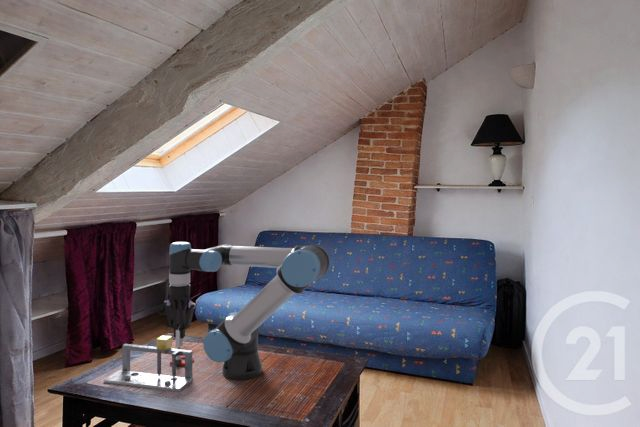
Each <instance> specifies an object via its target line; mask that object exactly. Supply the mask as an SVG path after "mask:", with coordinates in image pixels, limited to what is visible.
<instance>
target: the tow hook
mask: <svg viewBox="0 0 640 427" xmlns="http://www.w3.org/2000/svg"><path fill="white" fill-rule="evenodd" d="M176 349H181V347H180V348H177V347H176ZM182 360H185V356H180V355H178V356H177V357H176V367H185V361H182ZM194 361H195V360H194V357H192V363H193V362H194ZM169 365H170V366H172V360H171V361H170V362H169Z"/></svg>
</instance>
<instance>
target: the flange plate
mask: <svg viewBox="0 0 640 427" xmlns="http://www.w3.org/2000/svg"><path fill="white" fill-rule="evenodd" d="M192 379H193V377H192V378H185V376H184V377H183V376H182V377H181V376H177V375H176V376H175V378H173V377H172V375H166V374H160V376H158V374H157V373H148V372H140V371H132V370H130V371H124V370H122V369H119V370H117V371H115V372H114V373H112V374H110V375H109V376H108V377H106V378H104V379H103V383H107V384H113V385H114V384H115V385H121V386H131V387H139V388H147V389H153V390H161V391H171V392H176V393H177V392H178V393H180V392H182V390H184V389H185V388H186V387H187V386H188V385H189V384H190V383H191V382H192V381H193V380H192Z"/></svg>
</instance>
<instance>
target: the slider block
mask: <svg viewBox="0 0 640 427" xmlns="http://www.w3.org/2000/svg"><path fill="white" fill-rule="evenodd" d="M172 339H173V336H171V335H160V336H158V337H157V338H156V342H155V343H156V346H155V347H156V349H157V353H156V354H157V356H156V357H157V358H156V366H157V368H156V371H157V372H156V374H158V376H160V375H162V353H161V351H162V350H168V349H169V348H172V347H173V343H172V342H173V340H172Z"/></svg>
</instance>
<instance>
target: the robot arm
mask: <svg viewBox="0 0 640 427" xmlns="http://www.w3.org/2000/svg"><path fill="white" fill-rule="evenodd" d="M168 253H169V254H168V259H169V260H168V262H169V271H168V272H169V274H168V284H169V286H168V294H169V296H168V298H167V299H166V300H164V301H163V302H162V306H163V308H164V311H165V315H166V319H167V320H166V321H167V323H168V324H167V325H168V327H169V328H172V329H173V338H174V339H175V348H176V349H177V348H180V349H181V347H183V346H184V338H185V336H186V330H187V329H188V328H190V327H191V324H192V319H193V315H194V312H195V311H194V310H195V309H196V307H197V306H198V304H197V302H193V301H192V298H191V284H190V283H191V270H193V271H199V272H207V273H210V272H212V273H214V272H217V271H219V269H220V268H221V266H235V267H238V266H239V267H253V268H254V267H255V268H256V267H257V268H270V269H271V268H272V269H276V275H275V276H274V277H273V278H272V279H271V280H270V281H269V282H268V283H267V284H266V285H265V286H264V287H263V288H262V289H261V290H260V291H258V293H256V295H255V296H254V297H253V298H252V299H251V300H250V301H248V303H246V304H245V305H244V306H243V307H242V308H241V309H240V310H239V311H234V312H229V313H228V314H227V317H225V318H224V319H223V320H222V322H220V323H219V324H218V325H217V326H216V327H215V328H213V329H211V330H209V331H208V333H207V332H206V334H205V335H204V338H203V342H202V344H203V351H204V352H205V354H206V356H207V357H208V358H209V359H210V360H211V361H213V362H215V363H223V365H222V375H223V376H224V377H226V378H228V379H232V380H249V379H253V378H256V377H258V376H260V375H261V374H262V373H263V364H262V361H261V358H260V354H259V352H258V351H259V349H258V348H259V328H260V327H261V325H262V324H263V323H265V321H267V319H269V318H270V316H272V315H273V314H274V313H275V312H276V311H278V309H280V307H281V306H283V305H284V303H286V302H287V301H288V300H289V299H290V298H291V297H292V296H293V295H301V294H302V293H303V292H304V291H305V290H306V289H307V288H308V287H310V286H311V284H313V283H314V282H315V281H316V280H317V279H319V278H322V277H323V276H324V275H325V274H327V272H328V271H329V269H330V265H331V258H330V254H329V253H328V251H327V250H326V249H325V248H324V247H322V246H320V245H315V244H310V245H295V246H294V247H273V246H272V247H271V246H270V247H269V246H267V247H266V246H247V245H245V246H243V245H242V246H241V245H232V244H229V243H226V244H220V245H216V246H214V247H213V246H212V247H209V248H206V249H198V248H197V249H194V248H192V245H191V243H190V242H187V241H175V242H172V243H170V244H169V252H168ZM187 307H188V309H187ZM261 372H262V373H261Z"/></svg>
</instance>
